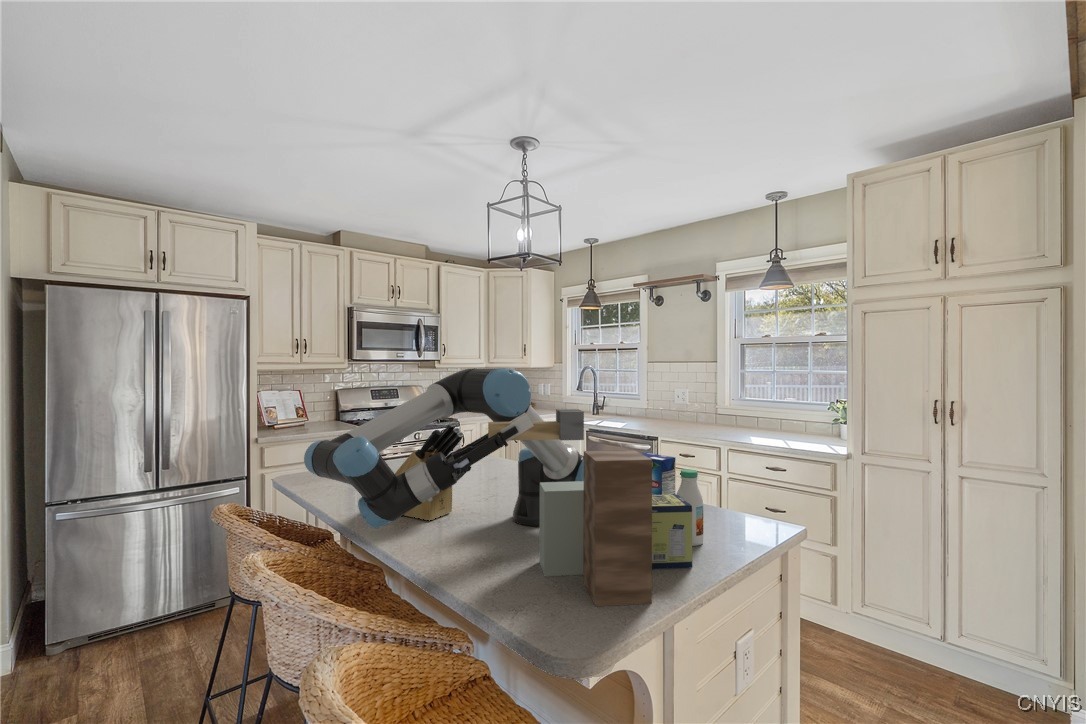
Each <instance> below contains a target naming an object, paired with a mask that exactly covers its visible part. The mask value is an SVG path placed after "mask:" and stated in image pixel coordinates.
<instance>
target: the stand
mask: <svg viewBox="0 0 1086 724" xmlns="http://www.w3.org/2000/svg"><path fill="white" fill-rule="evenodd" d="M583 456H584V543H583V575H582V577H583V580H582V581H583V584H584V586H585V588H586V590H587V591H588V594H589V596H590V599H591V600H592V602H593V605H594V607H597V608H598V607H611V606H613V607H614V606H625V605H627V606H629V605H643V604H652V603H653V602H652V601H653V597H652V596H653V586H652V585H653V584H652V583H653V569H652V459H650V458H648V457H646V456H644V455H643V454H641V452H639V451H637V450H635V449H623V450H622V449H620V450H618V449H617V450H613V449H611V450H583Z"/></svg>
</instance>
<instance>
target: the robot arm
mask: <svg viewBox="0 0 1086 724" xmlns="http://www.w3.org/2000/svg"><path fill="white" fill-rule="evenodd" d="M530 387H531V386H530V383H529V381H528V379H527V378H526V376H524V374H523V373H521V372H520V371H518V370H515V369H511V368H506V367H499V368H476V367H474V368H473V367H471V368H465V369H462V370H459V371H457V372H454V373H452V374H450V375H448V376H445V377H444V378H442V379H439V380H438V381H435V382H434V383H431V384H430V385H428V386H427V389H426V391H424V392H422V393H421V394H419V395H417V396H415V397H413V398H411V399H409V400H407V401H405V402H403V403H401V404H399V405H398V406H396V407H394V408H391V409H389V410H387V411H386V412H384V413H382V414H380V415H378V416H376V417H373V418H372V419H370V420H368V421H366V422H364V423H362V424H360V425H359V426H357V427H354V428H353V429H350V430H349V431H347V432H345V433H343V434H341V435H339V436H337V437H334V438H332V439H330V440H329V439H322V440H317V441H315V442H313V443H311V444H310V445H309V446H308V447H307V449H306V451H305V452H304V455H303V463H304V466H305V468H306V469H307V470H308V472H310V473H311V474H313V475H316V476H317V477H320V478H326V479H329V480H334V481H336V482H339V483H340V482H341V483H343V484H347V485H351V486H352V487H353V488H354V489H355V490H356V491H357V493H359V494H360V496H361V497H359V499H358V500H357V502H358V503H357V504H358V505H357V507H358V510H359V514H360V516H361V517H362V518H363V520H364V522H365V523H366V524H367V526H369V527H370V528H372V529H380V528H382V527H384V526H386V525H388V524H390V523H392V522H396V521H397V520H398V519H399V518H401V517H402V516H405V515H404V514H405V513H407V512H408V511H410V510H411V509H413V508H414V507H416V506H418V505H420V504H422V503H423V502H425V501H426V500H427V499H428V501H429V502H431V501H432V500H433V499H432V497H433V496H435V495H437V494H438V493H439V491H440V490H443V491H444V490H446V489H447V488H449V487H451V486H452V487H453V486H454V485H456V484H457V482H458V481H457V477H456V475H455V472H456V471H458V470H460V469H461V471H465V470H466V469H467V468H468V467H470V466H471V467H472V466H473V465H474V464H476V463H478V462H479V461H481V460H482V459H484V458H486V457H487V456H489V455H491V454H492V453H494V452H495V451H498V450H499V449H501V448H503V447H505V448H506V447H508V446H509V444H508V442H510V441H512V440H511V439H513V438H514V437H516V436H518V435H519V434H521V433H523V432H525V431H526V430H528V429H530V428H531V427H533V426H534V425H533V424H532V422H536V421H545V420H544V418H542V417H541V416H540V414H539V413H538V412H537V410H535V408H533V406H532V400H531V399H532V397H531V396H532V391H531V390H530ZM460 413H473V414H482V415H483V414H484V415H486V416H487V417H488V418H489V419H490V420H491V422H514V423H512V424H510V425H509V426H507V427H505V428H503V429H502V430H500V431H501V432H502V433H501V432H498V433H497V434H495V435H494V436H492V437H490V438H488V432H487V433H486V434H483V436H480V437H479V438H476V439H475V440H474V441H472V442H470V443H467V445H464V446H463V447H460V448H458V449H456V450H454V451H452V452H453V456H452V457H450V458H449V459H446V457H447V456H446V457H445V455H444V454H443V453H441V452H438V453H436V454H434V455H433V456H431V457H429V458H428V459H426V461H425V463H424V462H420V463H418V464H417V465H415V466H413V467H412V468H410V469H408V470H406V471H405V472H404V473H402V474H400V475H398V476H396V475H395V472H394V471H393V470H392V469H391V467H390V466H389V464H388V463H387V462H386V461H385V459H384V458H383V457H382V455H381V453H380V452H382V451H384V450H386V449H388V448H390V447H391V446H393V445H394V444H397V443H398V442H400V441H401V440H403V439H406V438H407V437H408V436H410V435H412V434H414V433H416V432H418V431H419V430H421V429H423V428H424V427H426V426H428V425H429V424H432V423H433V422H435V421H437V420H438V419H440V418H441V419H448V418H450V417H452V416H453V415H456V414H460ZM519 441H520V442H521V444H523V446H524V447H525V448H523V449H520V451H519V452H518V462H517V467H518V468H517V470H518V471H517V472H518V475H517V476H518V477H517V479H518V482H517V483H518V484H517V486H518V495H517V498H516V502H515V505H514V507H513V511H512V519H513V521H514V522H515V521H516V522H518V523H517V524H519V523H520V524H519V525H522V524H524V525H523V526H528V525H530V526H531V527H540V482H574V481H584V455H582V454H581V453H580V452H579V451H578V450H577V449H576V448H575V446H573V445H571V444H568V443H564V442H563V440H519ZM439 489H440V490H439ZM516 522H515V523H516Z"/></svg>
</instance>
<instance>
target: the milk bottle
mask: <svg viewBox="0 0 1086 724" xmlns="http://www.w3.org/2000/svg"><path fill="white" fill-rule="evenodd" d="M698 474H699V472H698V471H697V470H694V469H691V468H690V469H689V468H688V469H685V468H684V469H681V470H680V479H681V481H680V485H679V488H678V490H677V492H676V493H675V494H676V495H679V496H680V497H681V498H682V499H684V500H685V501H686V502H688V503H689V504H690V505H692V547H694V546H695V547H697V546H701V545H703V542H704V499H703V496H702V493H701V490H700V489H699V488H700V487H699V486H698V481H697V480H698V478H699V477H698Z"/></svg>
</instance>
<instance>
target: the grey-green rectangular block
mask: <svg viewBox="0 0 1086 724" xmlns="http://www.w3.org/2000/svg"><path fill="white" fill-rule="evenodd" d="M583 543H584V481H574V482H540V526H539V558H538V559H539V560H538V561H539V564H540V568H541V570H542V573H543V576H544V577H545V576H546V577H559V576H560V577H562V575H563V576H579V575H580V576H581V575H582V576H583ZM546 577H545V578H546Z"/></svg>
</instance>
